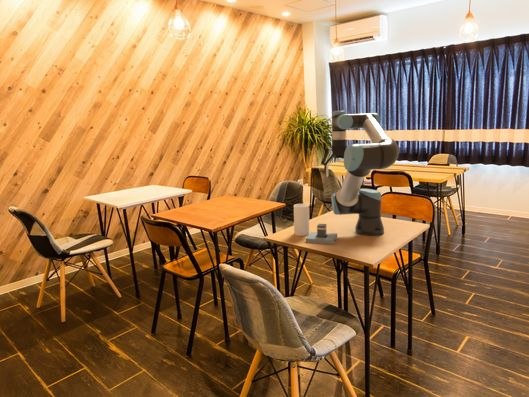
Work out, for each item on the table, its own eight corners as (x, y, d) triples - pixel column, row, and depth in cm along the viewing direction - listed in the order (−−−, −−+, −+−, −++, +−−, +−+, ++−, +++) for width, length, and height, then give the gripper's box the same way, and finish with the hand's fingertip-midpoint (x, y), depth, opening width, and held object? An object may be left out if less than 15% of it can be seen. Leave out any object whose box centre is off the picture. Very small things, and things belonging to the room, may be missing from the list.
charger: (326, 238, 205) (326, 224, 204) (324, 241, 201) (324, 226, 200) (318, 238, 207) (318, 223, 205) (317, 240, 203) (317, 225, 201)
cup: (308, 235, 211) (308, 207, 208) (293, 235, 213) (292, 206, 209) (310, 231, 219) (309, 203, 216) (295, 231, 221) (294, 203, 217)
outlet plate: (337, 237, 207) (337, 233, 206) (332, 244, 196) (332, 240, 195) (311, 235, 212) (311, 231, 211) (305, 242, 201) (305, 238, 200)
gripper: (362, 138, 217) (362, 176, 221) (318, 139, 226) (319, 175, 230) (361, 139, 210) (360, 178, 214) (315, 139, 219) (316, 177, 223)
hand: (339, 176), depth 222 cm, fingers open, 13 cm apart
